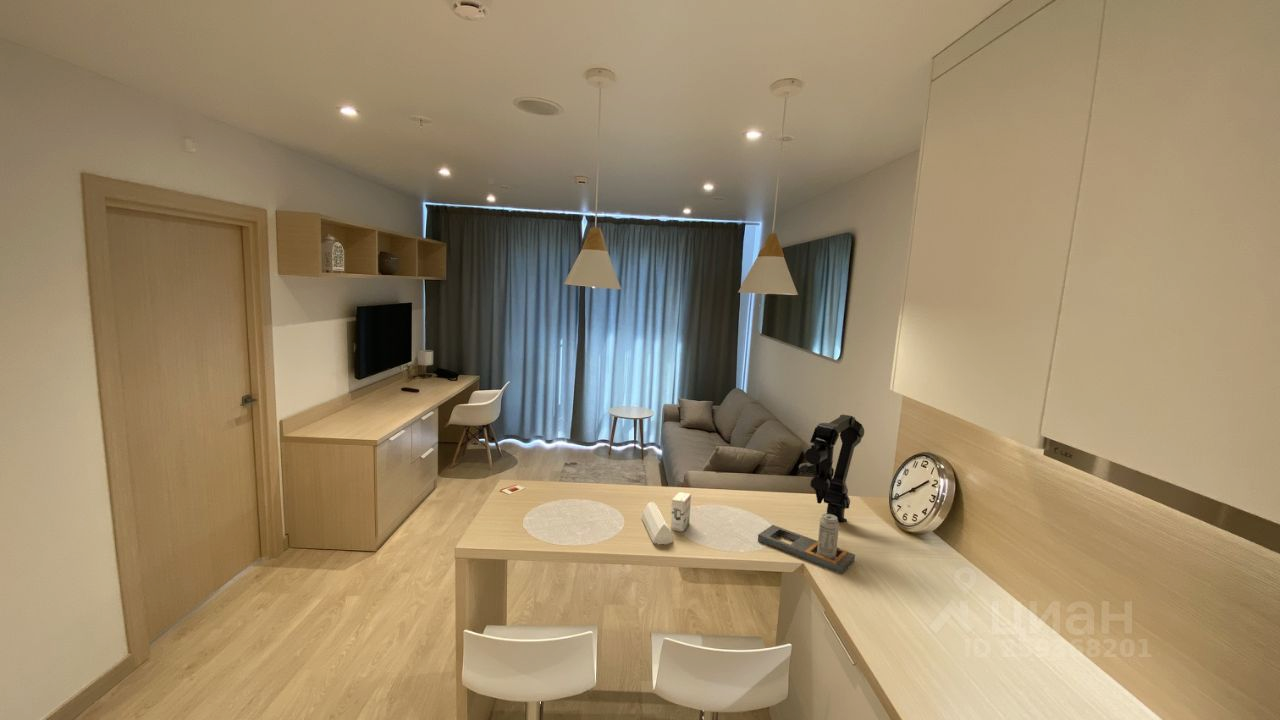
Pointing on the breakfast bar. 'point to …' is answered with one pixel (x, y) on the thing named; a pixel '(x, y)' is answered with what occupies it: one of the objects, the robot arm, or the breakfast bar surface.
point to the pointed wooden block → (656, 525)
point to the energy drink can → (828, 536)
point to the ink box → (680, 511)
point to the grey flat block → (805, 549)
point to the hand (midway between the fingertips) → (820, 498)
